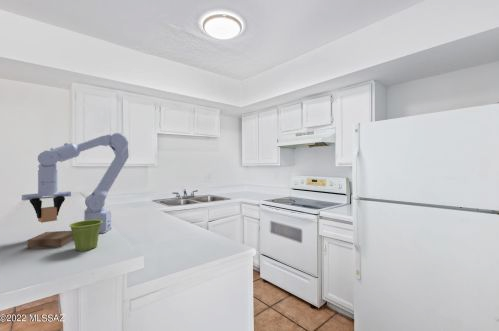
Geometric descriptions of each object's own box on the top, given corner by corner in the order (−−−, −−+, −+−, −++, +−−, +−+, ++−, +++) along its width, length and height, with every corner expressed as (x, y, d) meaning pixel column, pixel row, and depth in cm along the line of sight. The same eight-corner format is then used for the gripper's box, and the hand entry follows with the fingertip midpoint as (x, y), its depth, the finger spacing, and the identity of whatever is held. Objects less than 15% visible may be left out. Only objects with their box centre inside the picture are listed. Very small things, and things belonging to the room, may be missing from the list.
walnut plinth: (75, 238, 91) (75, 230, 91) (61, 246, 81) (61, 238, 81) (46, 239, 89) (46, 231, 89) (27, 248, 79) (27, 240, 79)
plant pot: (65, 255, 74) (66, 227, 74) (72, 245, 82) (72, 221, 82) (100, 250, 78) (100, 224, 78) (103, 242, 86) (103, 218, 86)
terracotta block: (52, 218, 94) (52, 206, 94) (56, 220, 91) (56, 207, 91) (38, 221, 90) (38, 208, 90) (42, 222, 88) (42, 209, 88)
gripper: (66, 180, 99) (66, 212, 99) (19, 182, 87) (19, 218, 87) (73, 181, 95) (73, 214, 95) (25, 183, 83) (24, 221, 83)
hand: (47, 216), depth 91 cm, fingers closed on terracotta block, 4 cm apart
